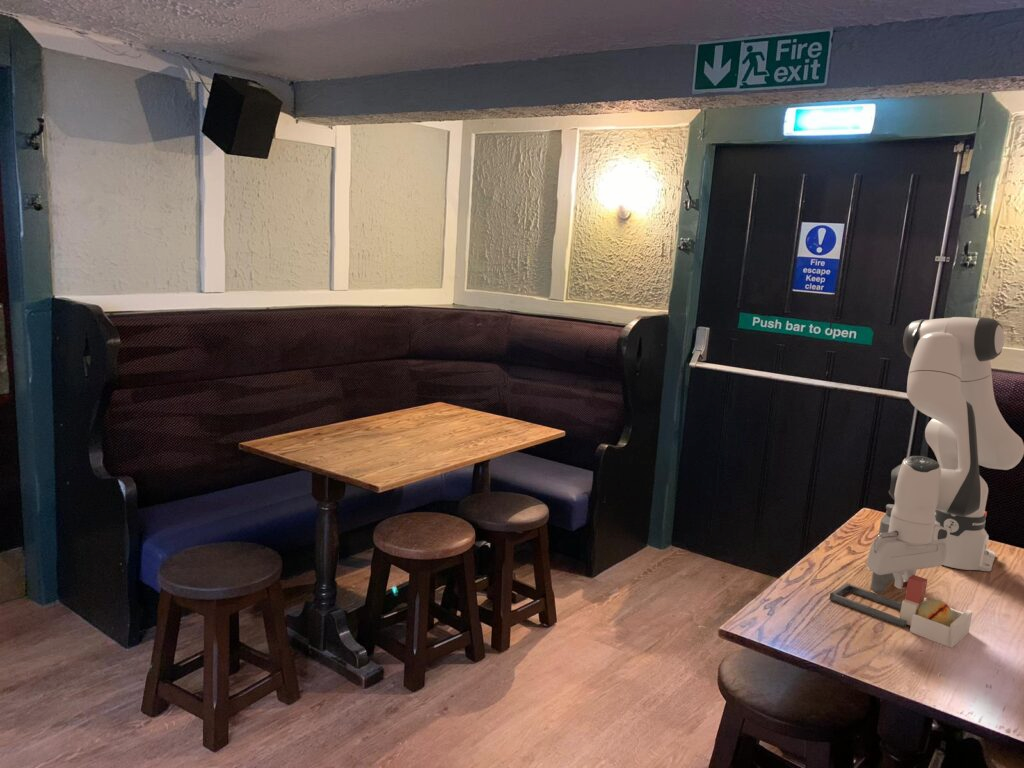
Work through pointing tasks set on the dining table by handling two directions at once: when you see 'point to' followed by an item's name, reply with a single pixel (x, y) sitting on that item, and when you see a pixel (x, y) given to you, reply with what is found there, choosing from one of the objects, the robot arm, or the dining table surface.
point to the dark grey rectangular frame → (866, 609)
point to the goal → (943, 628)
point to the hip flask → (883, 580)
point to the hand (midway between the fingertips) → (901, 587)
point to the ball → (936, 612)
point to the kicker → (913, 597)
